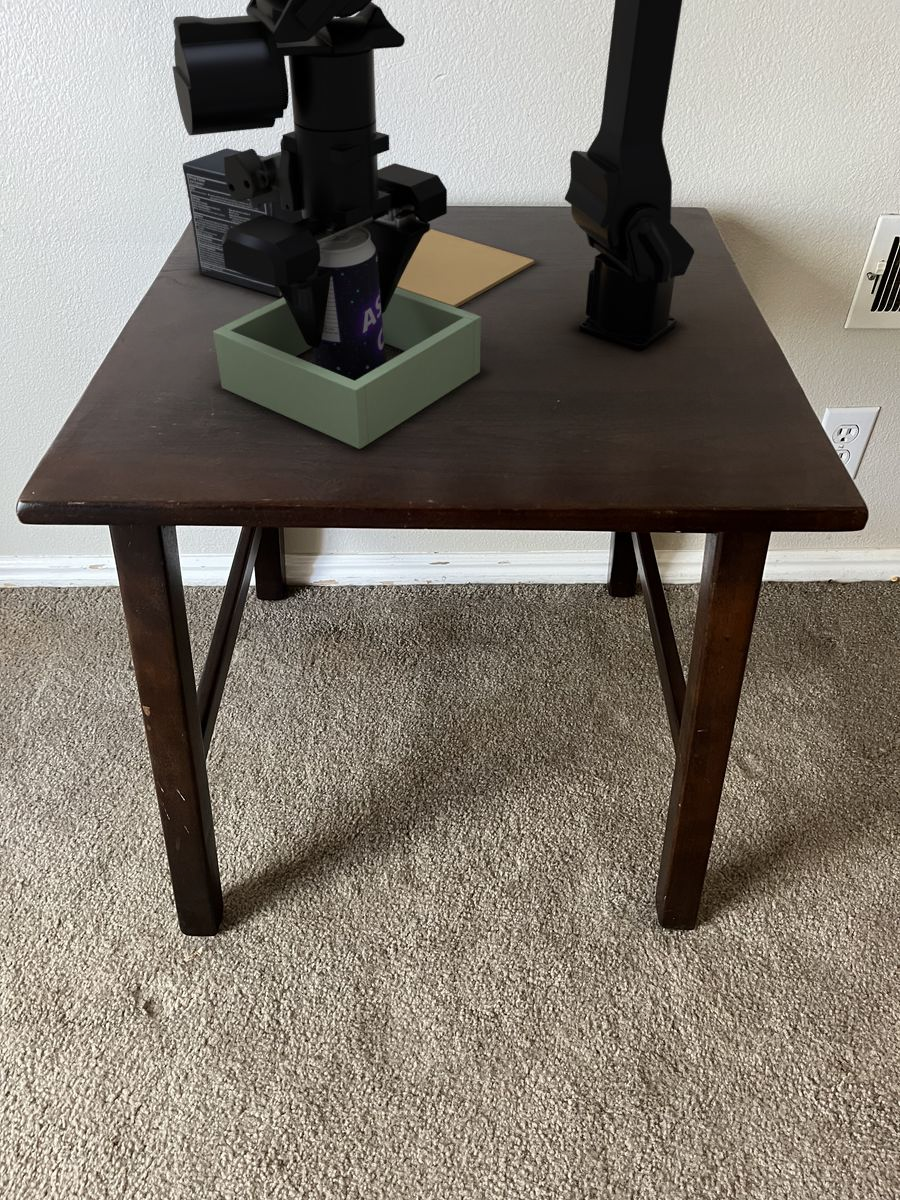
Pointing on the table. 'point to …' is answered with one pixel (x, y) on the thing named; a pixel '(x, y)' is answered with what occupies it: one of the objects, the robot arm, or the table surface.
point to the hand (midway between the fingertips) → (346, 328)
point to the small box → (222, 217)
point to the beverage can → (351, 307)
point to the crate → (338, 404)
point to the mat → (457, 268)
